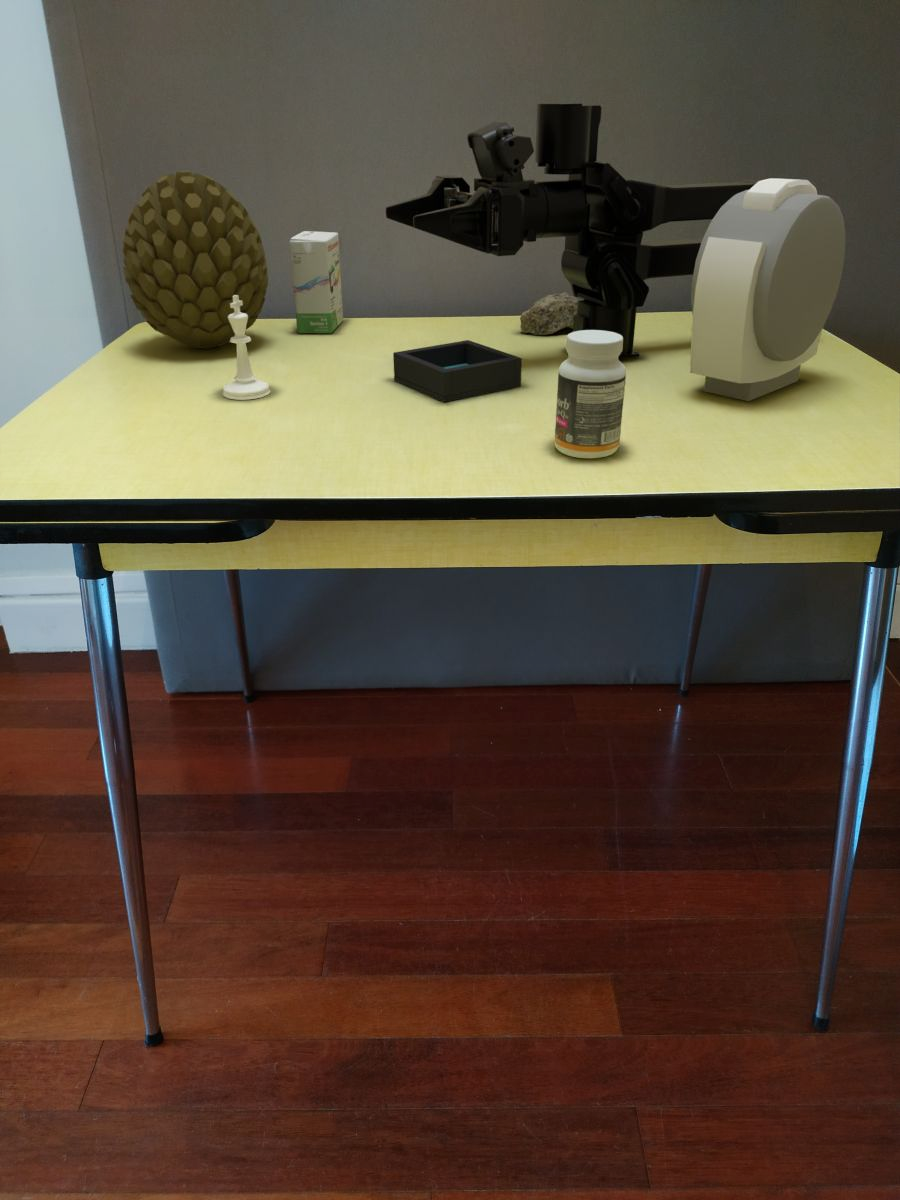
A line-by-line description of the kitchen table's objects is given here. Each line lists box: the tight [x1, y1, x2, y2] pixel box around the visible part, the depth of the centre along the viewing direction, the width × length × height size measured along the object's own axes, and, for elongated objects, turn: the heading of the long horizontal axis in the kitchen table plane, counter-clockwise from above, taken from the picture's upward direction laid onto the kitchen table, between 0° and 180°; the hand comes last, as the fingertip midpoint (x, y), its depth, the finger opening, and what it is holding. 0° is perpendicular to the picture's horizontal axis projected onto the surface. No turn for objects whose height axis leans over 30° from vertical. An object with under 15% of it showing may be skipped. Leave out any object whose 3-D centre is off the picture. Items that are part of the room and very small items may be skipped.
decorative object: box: [122, 170, 269, 350], centre depth 110 cm, size 17×17×20 cm
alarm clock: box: [689, 177, 846, 402], centre depth 93 cm, size 18×8×20 cm, turn 134°
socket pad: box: [392, 339, 523, 403], centre depth 99 cm, size 10×10×3 cm
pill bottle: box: [554, 330, 627, 459], centre depth 78 cm, size 6×6×10 cm
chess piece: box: [222, 295, 271, 401], centre depth 94 cm, size 5×5×10 cm
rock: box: [519, 291, 582, 336], centre depth 120 cm, size 7×8×4 cm
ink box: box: [289, 230, 344, 334], centre depth 121 cm, size 8×5×12 cm, turn 175°
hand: (399, 217), depth 94 cm, fingers open, 9 cm apart
